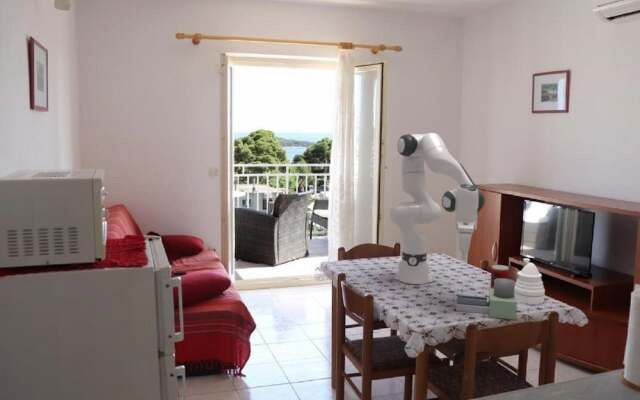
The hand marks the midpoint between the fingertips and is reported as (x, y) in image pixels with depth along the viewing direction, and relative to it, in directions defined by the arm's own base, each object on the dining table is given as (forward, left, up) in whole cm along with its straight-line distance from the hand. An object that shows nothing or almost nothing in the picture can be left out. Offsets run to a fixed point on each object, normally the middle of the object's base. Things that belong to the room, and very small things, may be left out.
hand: (463, 256), depth 232 cm
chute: (+3, +4, -22) cm, 22 cm away
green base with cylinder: (+3, +10, -21) cm, 24 cm away
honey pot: (-18, +28, -22) cm, 40 cm away
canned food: (-30, +16, -22) cm, 40 cm away
